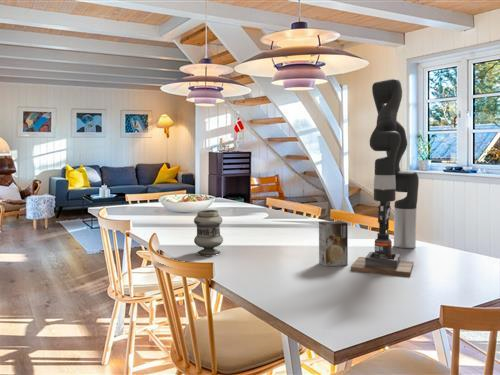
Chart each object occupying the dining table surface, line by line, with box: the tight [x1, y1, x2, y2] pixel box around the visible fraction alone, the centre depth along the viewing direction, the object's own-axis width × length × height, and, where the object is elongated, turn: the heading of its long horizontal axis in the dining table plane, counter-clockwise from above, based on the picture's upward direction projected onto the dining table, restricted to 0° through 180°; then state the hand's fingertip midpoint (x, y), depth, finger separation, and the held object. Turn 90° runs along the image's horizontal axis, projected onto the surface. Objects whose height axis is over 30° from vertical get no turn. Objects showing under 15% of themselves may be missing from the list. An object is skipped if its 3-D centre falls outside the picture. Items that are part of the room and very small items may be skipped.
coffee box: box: [318, 220, 349, 268], centre depth 172 cm, size 9×6×16 cm
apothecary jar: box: [193, 209, 224, 256], centre depth 191 cm, size 12×12×18 cm
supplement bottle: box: [374, 232, 393, 259], centre depth 166 cm, size 6×6×11 cm
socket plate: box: [350, 251, 414, 277], centre depth 166 cm, size 16×20×4 cm
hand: (384, 232), depth 165 cm, fingers open, 8 cm apart
